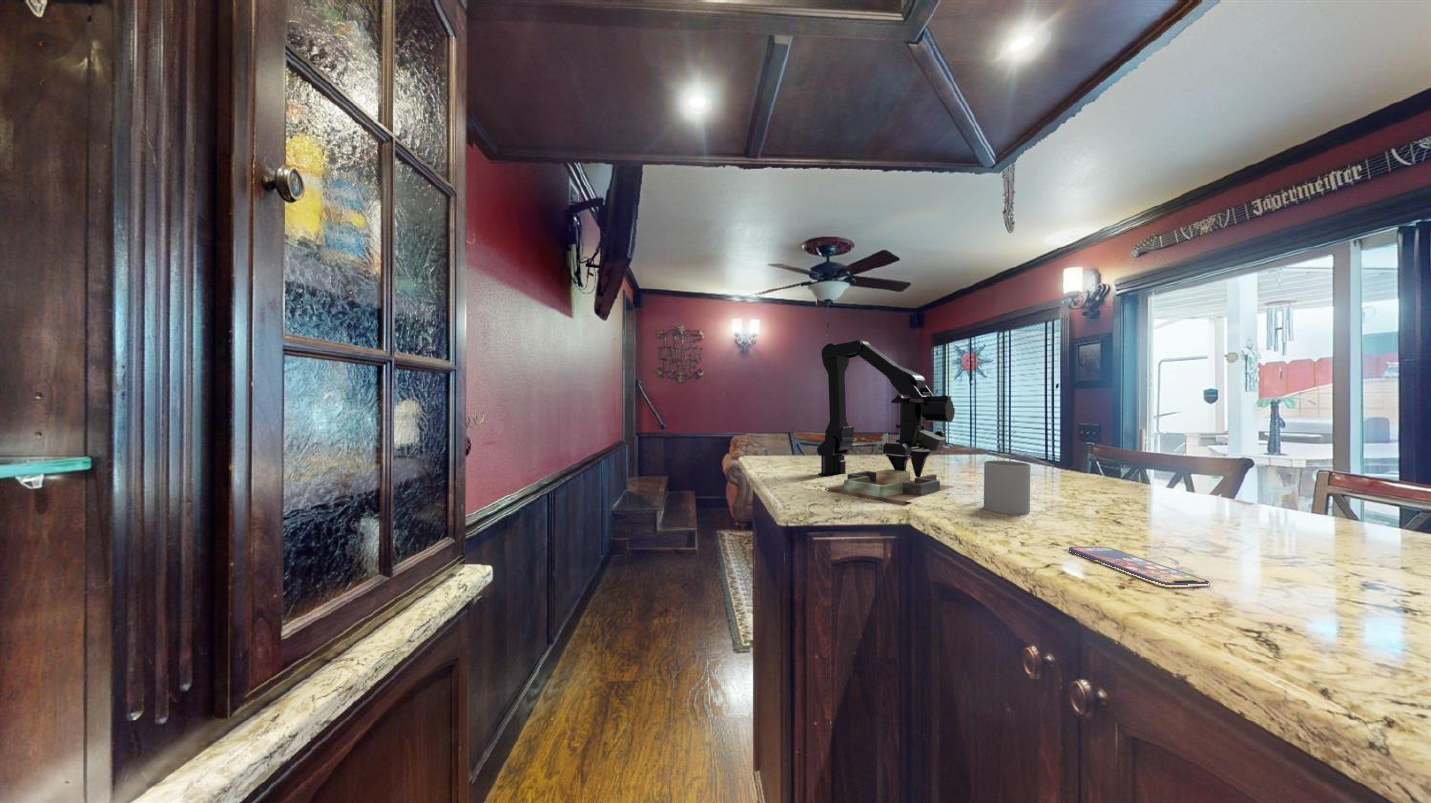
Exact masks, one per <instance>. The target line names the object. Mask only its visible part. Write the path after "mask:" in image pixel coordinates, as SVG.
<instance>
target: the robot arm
mask: <svg viewBox="0 0 1431 803" xmlns="http://www.w3.org/2000/svg"><path fill="white" fill-rule="evenodd" d="M857 357H860V358H862V359H863V360H864V361H866V362H867V363H868V364H870V365H871V366H872V367H874V368H875V370H877V371H878V372H880V373H881V374H883V375H884V376H885V377H886V378H887V379H888V380H889V382H890V384H891V385H892V387H893V388H894V389H895V390H896V391H897V392H898V393H899V394H897V395H896V397H895V398H893V399H892V400H891V404H899V405H898V406H899V407H898V408H899V410H898V411H899V412H898V423H897V424H895V428H896V429H898V439H895V441H890V442H885V443H884V444H883V445H882V454H885V456H886V457H887V458H888V460H889V461H890V462H889V463H890V464H891V465H892V467H893V468H892V469H893V470H901V471H907V465H908V462H909V460H911V461H910V462H911V464H912V469H913V473H914V476H915V478H917V477H922V472H923V470H924V467H925V464H926V461H927V458H928V457H930V456H931V455H932V454H934V453H935V452H938V451H942V450H943V447H944V445H946V444H947V439H948V438H947V437H946V432H945V431H942V430H936V431H935V432H933V431H929V430H928V429H927V425H926V424H923V418H924V420H925V421H926V422H935V423H937V422H938V423H940V422H941V423H952V421H953V420H954V418H955V412H956V410H955V409H956V408H955V407H954V406H955V405H954V403H953V400H952V396H951V395H947V394H946V395H944V394H943V395H938V396H937V395H934V394H933V393H932V391H931V390H930V389H929V387H928V386H927V384H926V379H925V377H924V376H923V375H921V374H920V373H917V372H916V371H912V370H910V369H908V368H905V367H904V366H901V365H899V364H897V363H896V362H894V361H893V360H892V359H890V358H889V357H888V356H886V355H885V354H884V353H882V352H881V351H879V350H878V349H877V348H875V347H874V346H873V345H872V344H870V343H869V341H867V340H862V339H856V340H854V341H852V340H851V341H847V342H842V343H831V342H829V343H827V344H825V346H824V347H823V348H822V349H821V359H822V364H823V367H824V369H825V371H826V373H827V380H828V382H827V383H828V384H827V386H828V407H829V408H828V412H829V414H828V415H829V421H828V424H827V426H826V429H825V432H824V440H823V442H822V443H820V445H819V446H818V447H816V452H817V455H818V456H820V460H821V461H820V462H821V463H820V464H821V465H820V470H821V472H817V475H820V476H825V477H826V476H827V477H834V476H840V475H844V474H845V475H846V474H847V472H846V466H847V465H846V464H847V462H846V460H845V455H847V454H848V453H849V450H850V448H851V447H852V446H853V442H854V441H855V434H854V432H855V427H854V426H850V425H849V423H848V421H847V407H846V406H847V405H846V401H847V400H846V382H845V381H846V379H845V373H846V372H847V368H848V366H849V365H850V364H849V363H850V359H853V358H857ZM904 396H906V397H904ZM907 396H909V397H907ZM917 400H922V401H917Z"/></svg>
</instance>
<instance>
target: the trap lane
mask: <svg viewBox="0 0 1431 803" xmlns="http://www.w3.org/2000/svg"><path fill="white" fill-rule="evenodd" d="M846 474H847V479H844V481H843V484H839V485H835V486H829V487H828V490H827V491H828V493H833V494H834V493H835V494H838V493H839V495H845V496H850V497H856V498H861V499H865V498H867V499H866V500H870V499H871V501H872V500H873V501H876V502H882V503H888V504H892V505H898V506H903V507H905V506H907V505H911V504H914V502H912V501H910V500H914V499H917V498H920V497H923V496H927V495H931V494H934V493H938V492H942V491H945V490H948V489H949V490H950V489H952V488H954V486H951V485H945V484H941V482H940V481H941V480H939V479H937V477H938V475H937V474H934V473H931V474H926V475H923V476H922V475H921V476H920V477H914V480H911V479H910V483H909V482H902V481H900V482H895V483H891V484H887V485H877V484H876V471H873V470H872V471H871V470H864V471H858V472H853V473H846Z"/></svg>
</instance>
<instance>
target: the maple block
mask: <svg viewBox="0 0 1431 803" xmlns="http://www.w3.org/2000/svg"><path fill="white" fill-rule="evenodd" d="M875 472H876V484H877V485H887V484H891V483H895V482H900V481H902V482H909V483H910V480H911V471H909V470H906V471H901V470H894V468H886V469H881V470H877V471H876V470H875Z"/></svg>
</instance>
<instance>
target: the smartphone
mask: <svg viewBox="0 0 1431 803" xmlns="http://www.w3.org/2000/svg"><path fill="white" fill-rule="evenodd" d="M1069 551H1071V552H1073V553H1076V554H1079V555H1081V556H1084V557H1087V558H1089V559H1092V560H1098V561H1100V562H1102V563H1105V564H1107V565H1110V566H1112V567H1116V568H1119V569H1121V570H1124V571H1126V572H1129V573H1131V574H1134V575H1137V576H1140V577H1142V578H1145V579H1148V580H1151V581H1155V582H1158V583H1161V584H1165V585H1188V584H1208V583H1209V584H1210V580H1208V579H1204V578H1201V577H1199V576H1196V575H1193V574H1189V573H1188V572H1187V573H1186V572H1183V571H1181V570H1178V569H1175V568H1173V567H1169V566H1166V565H1163V564H1160V563H1156V562H1154V561H1151V560H1149V559H1148V560H1147V559H1145V558H1142V557H1138V556H1136V555H1133V554H1130V553H1127V552H1125V551H1121V550H1118V549H1115V548H1112V547H1109V546H1070V547H1069V548H1068V552H1069ZM1073 553H1072V554H1073ZM1081 556H1080V557H1081Z"/></svg>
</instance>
